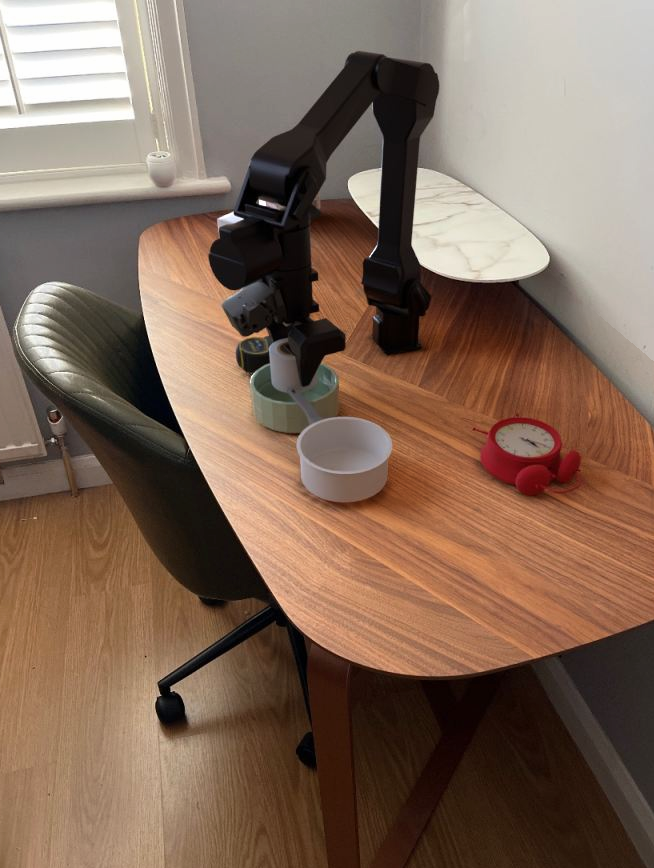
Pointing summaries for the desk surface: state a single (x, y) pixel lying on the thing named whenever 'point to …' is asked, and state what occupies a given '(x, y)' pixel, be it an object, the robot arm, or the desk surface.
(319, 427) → the saucepan
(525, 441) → the alarm clock
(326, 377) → the bowl
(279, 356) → the tape roll
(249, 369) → the tape measure
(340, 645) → the desk surface
